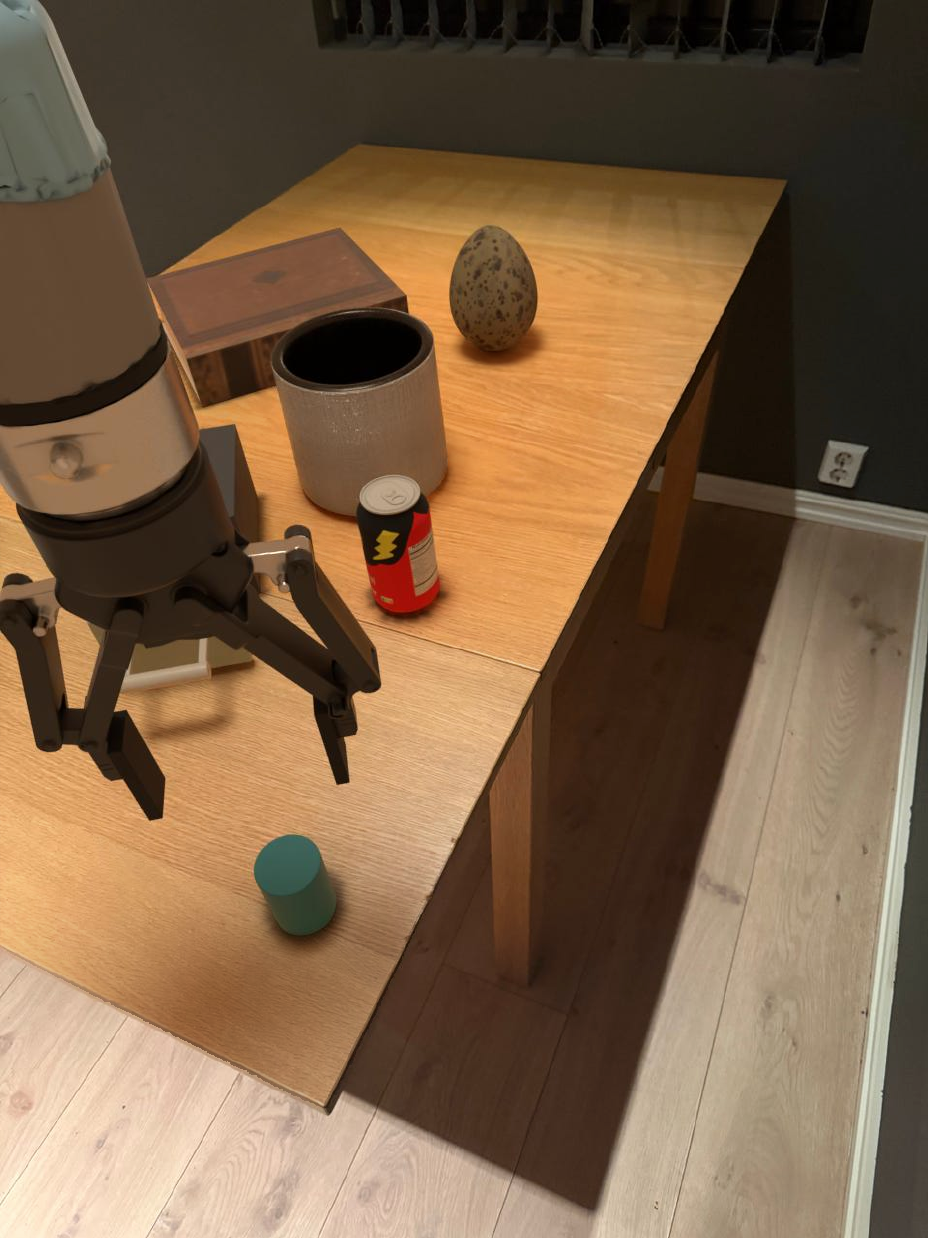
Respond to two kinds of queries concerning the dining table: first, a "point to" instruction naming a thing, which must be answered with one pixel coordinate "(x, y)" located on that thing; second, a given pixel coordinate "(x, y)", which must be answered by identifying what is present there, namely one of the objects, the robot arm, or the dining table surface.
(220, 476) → the cabinet
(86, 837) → the dining table surface
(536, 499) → the dining table surface
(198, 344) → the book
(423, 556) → the beverage can
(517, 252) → the decorative egg
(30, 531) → the robot arm
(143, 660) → the drawer
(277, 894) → the teal cylinder
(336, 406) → the planter
